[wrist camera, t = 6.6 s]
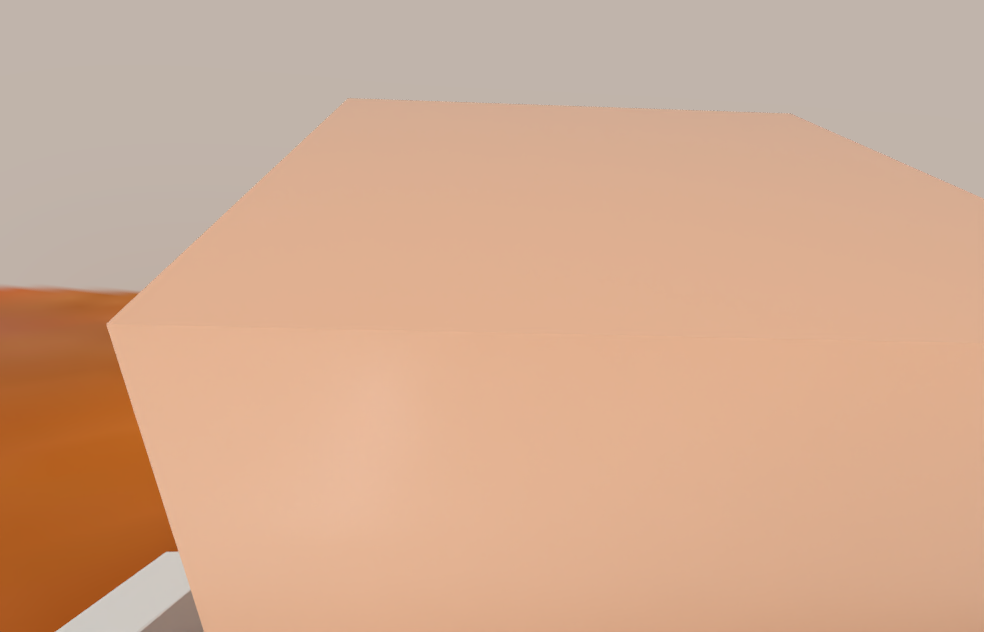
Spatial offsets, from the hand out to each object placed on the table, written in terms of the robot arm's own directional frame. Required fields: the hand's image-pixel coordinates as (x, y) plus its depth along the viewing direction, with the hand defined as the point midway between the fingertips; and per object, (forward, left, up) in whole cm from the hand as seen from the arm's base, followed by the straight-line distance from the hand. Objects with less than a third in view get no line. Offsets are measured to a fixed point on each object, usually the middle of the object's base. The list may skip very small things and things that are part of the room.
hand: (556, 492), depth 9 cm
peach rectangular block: (0, +1, -7) cm, 7 cm away
